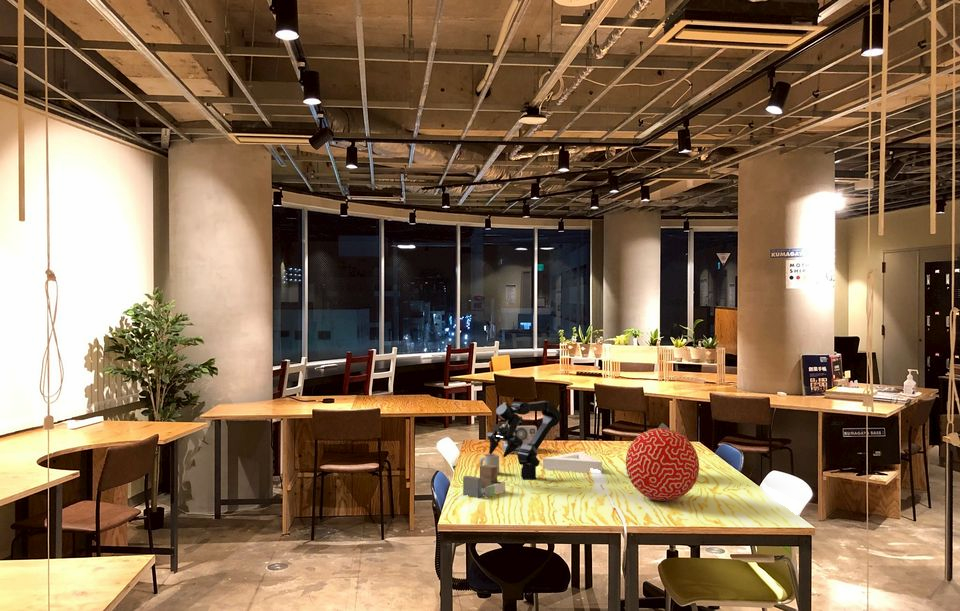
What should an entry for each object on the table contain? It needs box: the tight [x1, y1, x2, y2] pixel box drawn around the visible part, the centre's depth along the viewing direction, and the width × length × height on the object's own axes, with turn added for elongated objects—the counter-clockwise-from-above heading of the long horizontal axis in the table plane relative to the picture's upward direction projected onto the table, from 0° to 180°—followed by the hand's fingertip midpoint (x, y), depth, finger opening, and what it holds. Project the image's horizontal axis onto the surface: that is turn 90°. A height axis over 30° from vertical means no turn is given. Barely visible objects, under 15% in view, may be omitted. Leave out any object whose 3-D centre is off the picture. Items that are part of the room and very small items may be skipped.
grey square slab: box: [462, 475, 481, 498], centre depth 308 cm, size 2×8×8 cm, turn 52°
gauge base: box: [481, 481, 506, 498], centre depth 313 cm, size 14×11×4 cm
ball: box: [625, 427, 700, 502], centre depth 301 cm, size 30×30×30 cm
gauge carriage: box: [479, 464, 502, 488], centre depth 316 cm, size 5×11×9 cm, turn 53°
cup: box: [478, 453, 500, 475], centre depth 354 cm, size 7×10×9 cm
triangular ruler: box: [542, 450, 603, 474], centre depth 370 cm, size 30×26×6 cm
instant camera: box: [501, 425, 539, 453], centre depth 415 cm, size 21×21×15 cm
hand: (496, 455), depth 328 cm, fingers open, 9 cm apart
